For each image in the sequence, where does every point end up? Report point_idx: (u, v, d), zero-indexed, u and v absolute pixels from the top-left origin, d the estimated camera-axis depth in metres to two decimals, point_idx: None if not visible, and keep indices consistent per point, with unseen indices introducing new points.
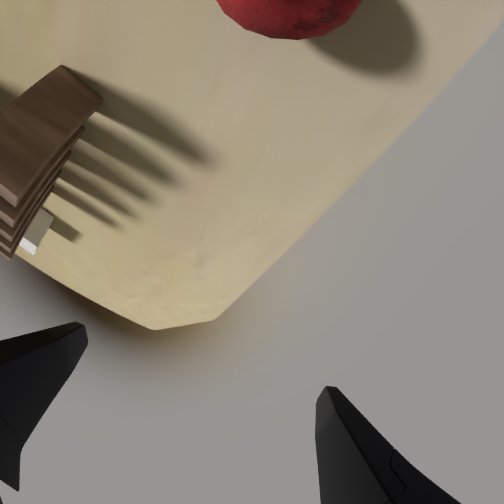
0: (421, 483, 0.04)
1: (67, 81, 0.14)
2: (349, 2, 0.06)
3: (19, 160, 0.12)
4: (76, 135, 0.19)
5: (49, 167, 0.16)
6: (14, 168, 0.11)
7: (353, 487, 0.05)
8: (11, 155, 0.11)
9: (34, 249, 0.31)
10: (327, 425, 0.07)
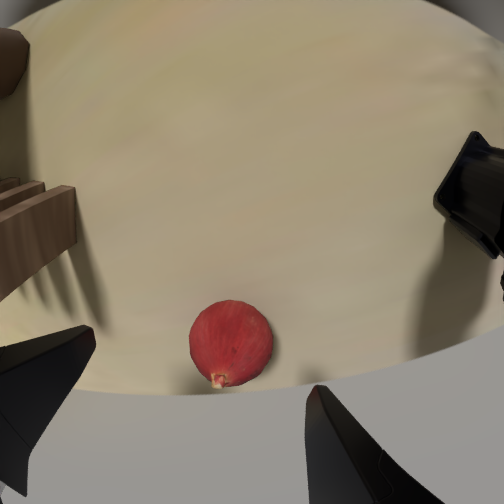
0: (408, 485, 0.04)
1: (68, 210, 0.20)
2: None
3: (11, 271, 0.14)
4: None
5: None
6: (6, 276, 0.13)
7: (339, 488, 0.05)
8: (8, 263, 0.13)
9: None
10: (315, 424, 0.07)
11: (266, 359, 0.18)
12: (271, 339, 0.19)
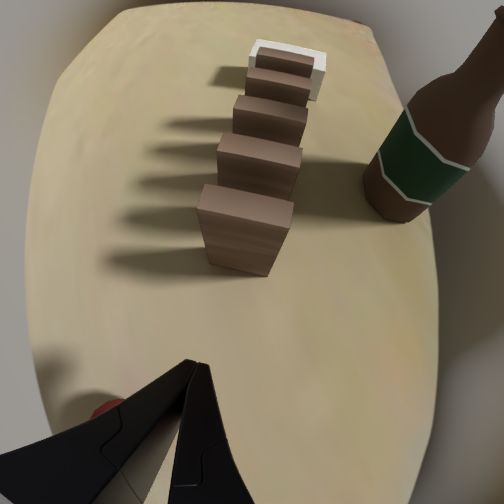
0: (227, 486, 0.04)
1: (247, 269, 0.23)
2: None
3: (222, 228, 0.17)
4: None
5: None
6: (221, 223, 0.16)
7: None
8: (234, 230, 0.17)
9: (254, 49, 0.28)
10: None
11: None
12: None
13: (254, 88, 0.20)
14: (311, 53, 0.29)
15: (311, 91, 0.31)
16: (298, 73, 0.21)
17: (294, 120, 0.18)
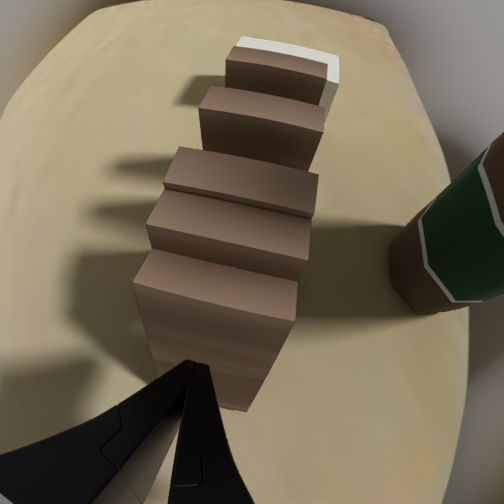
0: (226, 486, 0.04)
1: (218, 401, 0.14)
2: None
3: (177, 327, 0.09)
4: None
5: None
6: (174, 317, 0.09)
7: None
8: (196, 331, 0.09)
9: None
10: None
11: None
12: None
13: (216, 128, 0.11)
14: (318, 56, 0.20)
15: None
16: (299, 91, 0.13)
17: (289, 207, 0.09)
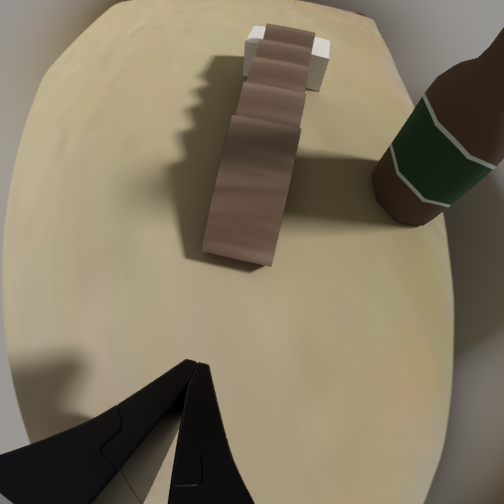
0: (227, 486, 0.04)
1: (249, 248, 0.20)
2: None
3: (245, 141, 0.19)
4: None
5: None
6: (246, 134, 0.19)
7: None
8: (255, 143, 0.19)
9: (251, 35, 0.25)
10: None
11: None
12: None
13: (264, 49, 0.22)
14: None
15: (313, 81, 0.28)
16: (302, 40, 0.22)
17: (300, 66, 0.21)
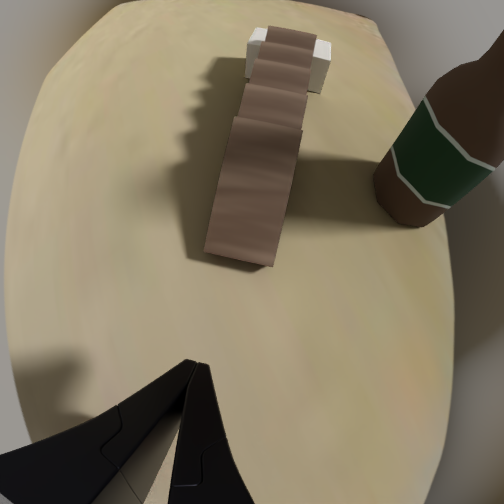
0: (226, 486, 0.04)
1: (251, 248, 0.20)
2: None
3: (247, 143, 0.19)
4: None
5: None
6: (248, 135, 0.19)
7: None
8: (257, 144, 0.19)
9: (253, 37, 0.25)
10: None
11: None
12: None
13: (266, 51, 0.22)
14: None
15: (315, 83, 0.28)
16: (304, 42, 0.23)
17: (302, 68, 0.21)
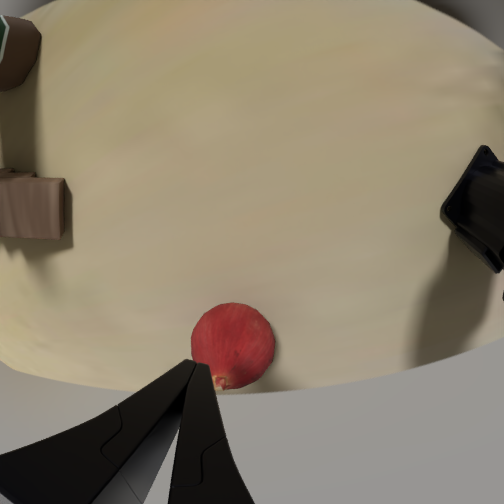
0: (226, 486, 0.04)
1: (49, 203, 0.19)
2: None
3: None
4: None
5: None
6: None
7: None
8: None
9: None
10: None
11: (268, 363, 0.18)
12: (273, 343, 0.18)
13: None
14: None
15: None
16: None
17: None
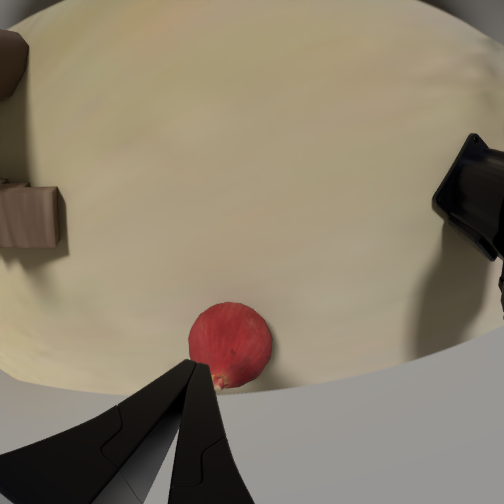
0: (227, 486, 0.04)
1: (43, 212, 0.19)
2: None
3: None
4: None
5: None
6: None
7: None
8: None
9: None
10: None
11: (265, 361, 0.18)
12: (270, 341, 0.19)
13: None
14: None
15: None
16: None
17: None
